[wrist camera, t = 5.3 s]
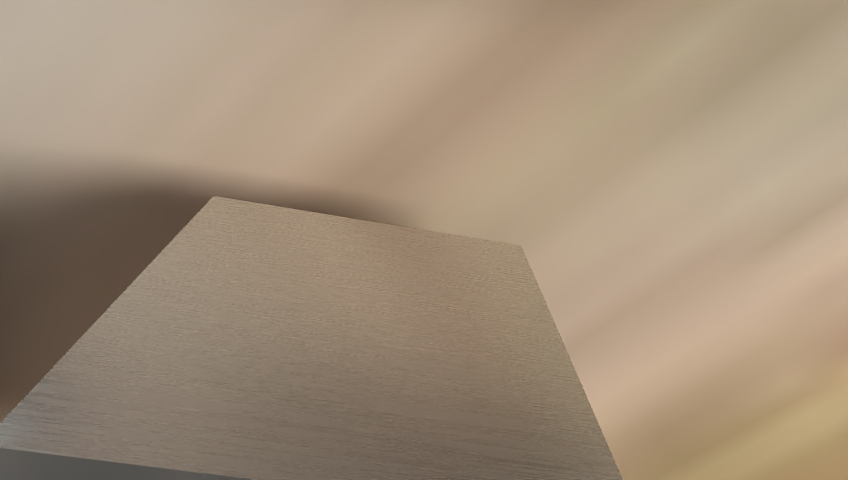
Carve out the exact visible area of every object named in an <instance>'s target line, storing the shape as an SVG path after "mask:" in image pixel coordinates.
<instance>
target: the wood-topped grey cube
mask: <svg viewBox="0 0 848 480" xmlns="http://www.w3.org/2000/svg"><path fill="white" fill-rule="evenodd" d="M0 480H623V479H622V477H621V474H620V472H619V470H618V467H617V465H616V463H615V461H614V458H613V456H612V454H611V451H610V449H609V447H608V444H607V442H606V440H605V438H604V435H603V433H602V431H601V428H600V426H599V424H598V421H597V419H596V417H595V415H594V412H593V410H592V408H591V405H590V403H589V401H588V399H587V396H586V394H585V392H584V389H583V387H582V385H581V382H580V380H579V378H578V376H577V373H576V371H575V369H574V366H573V364H572V362H571V359H570V357H569V355H568V353H567V350H566V348H565V346H564V343H563V341H562V339H561V336H560V334H559V332H558V330H557V327H556V325H555V323H554V320H553V318H552V316H551V313H550V311H549V309H548V307H547V304H546V302H545V300H544V297H543V295H542V293H541V291H540V288H539V286H538V284H537V281H536V279H535V277H534V274H533V272H532V270H531V268H530V265H529V263H528V261H527V258H526V256H525V254H524V251H523V249H522V247H521V246H519V245H512V244H506V243H500V242H494V241H488V240H482V239H476V238H469V237H463V236H457V235H451V234H445V233H439V232H433V231H427V230H420V229H414V228H408V227H402V226H396V225H390V224H384V223H377V222H371V221H365V220H359V219H353V218H347V217H341V216H334V215H328V214H322V213H316V212H310V211H304V210H298V209H292V208H285V207H279V206H273V205H267V204H261V203H255V202H249V201H242V200H236V199H230V198H224V197H218V196H213V197H212V198H211V199H210V200H209V201H208V202H207V204H206V205H205V206H204V207H203V208H202V209H201V210H200V211H199V212H198V213H197V214H196V215H195V216H194V217H193V218H192V219H191V221H190V222H189V223H188V224H187V225H186V226H185V227H184V228H183V229H182V230H181V231H180V232H179V233H178V234H177V235H176V237H175V238H174V239H173V240H172V241H171V242H170V243H169V244H168V245H167V246H166V247H165V248H164V249H163V250H162V251H161V253H160V254H159V255H158V256H157V257H156V258H155V259H154V260H153V261H152V262H151V263H150V264H149V265H148V266H147V267H146V268H145V270H144V271H143V272H142V273H141V274H140V275H139V276H138V277H137V278H136V279H135V280H134V281H133V282H132V283H131V284H130V286H129V287H128V288H127V289H126V290H125V291H124V292H123V293H122V294H121V295H120V296H119V297H118V298H117V299H116V300H115V301H114V303H113V304H112V305H111V306H110V307H109V308H108V309H107V310H106V311H105V312H104V313H103V314H102V315H101V316H100V317H99V319H98V320H97V321H96V322H95V323H94V324H93V325H92V326H91V327H90V328H89V329H88V330H87V331H86V332H85V333H84V335H83V336H82V337H81V338H80V339H79V340H78V341H77V342H76V343H75V344H74V345H73V346H72V347H71V348H70V349H69V350H68V352H67V353H66V354H65V355H64V356H63V357H62V358H61V359H60V360H59V361H58V362H57V363H56V364H55V365H54V366H53V368H52V369H51V370H50V371H49V372H48V373H47V374H46V375H45V376H44V377H43V378H42V379H41V380H40V381H39V382H38V384H37V385H36V386H35V387H34V388H33V389H32V390H31V391H30V392H29V393H28V394H27V395H26V396H25V397H24V398H23V399H22V401H21V402H20V403H19V404H18V405H17V406H16V407H15V408H14V409H13V410H12V411H11V412H10V413H9V414H8V415H7V417H6V418H5V419H4V420H3V421H2V422H1V423H0Z"/></svg>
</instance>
